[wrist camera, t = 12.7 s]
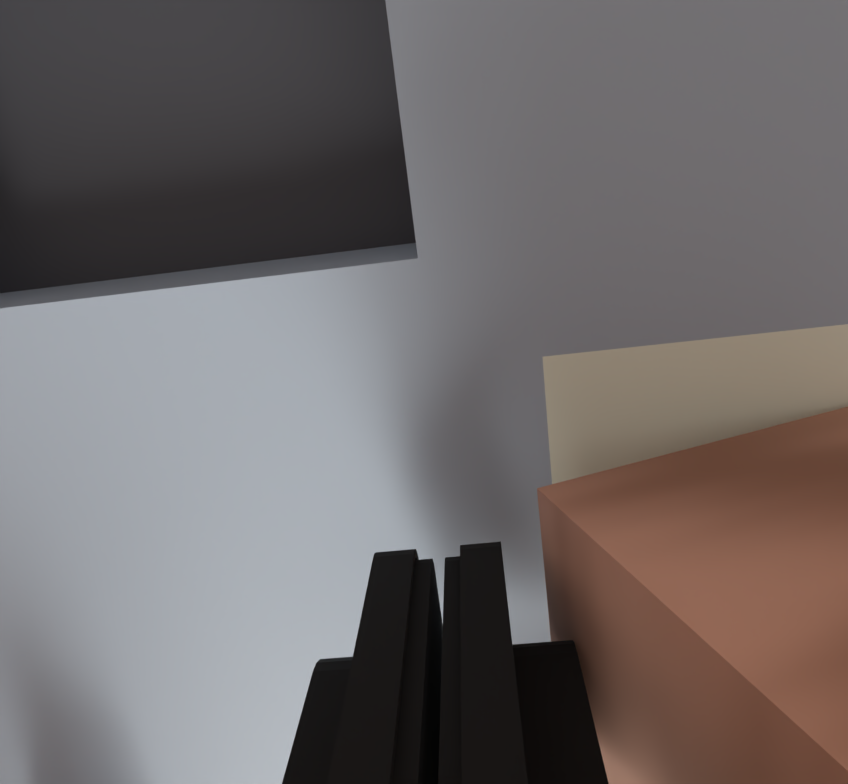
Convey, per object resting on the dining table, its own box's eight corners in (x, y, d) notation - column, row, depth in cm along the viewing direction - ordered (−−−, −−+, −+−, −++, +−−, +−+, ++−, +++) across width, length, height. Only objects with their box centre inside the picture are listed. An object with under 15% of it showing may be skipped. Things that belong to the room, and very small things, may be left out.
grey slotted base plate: (1036, -505, 8) (1826, -1402, 3) (866, 1087, 17) (1022, 1447, 12) (-310, -244, 10) (-1060, -628, 5) (179, 1102, 18) (83, 1430, 14)
